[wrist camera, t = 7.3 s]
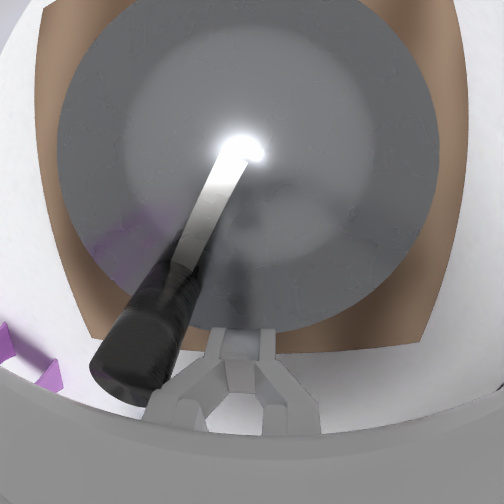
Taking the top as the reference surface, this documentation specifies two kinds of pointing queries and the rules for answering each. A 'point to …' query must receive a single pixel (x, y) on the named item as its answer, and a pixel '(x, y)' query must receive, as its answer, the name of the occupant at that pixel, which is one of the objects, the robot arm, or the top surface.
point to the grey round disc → (241, 169)
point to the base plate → (367, 309)
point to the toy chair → (51, 379)
